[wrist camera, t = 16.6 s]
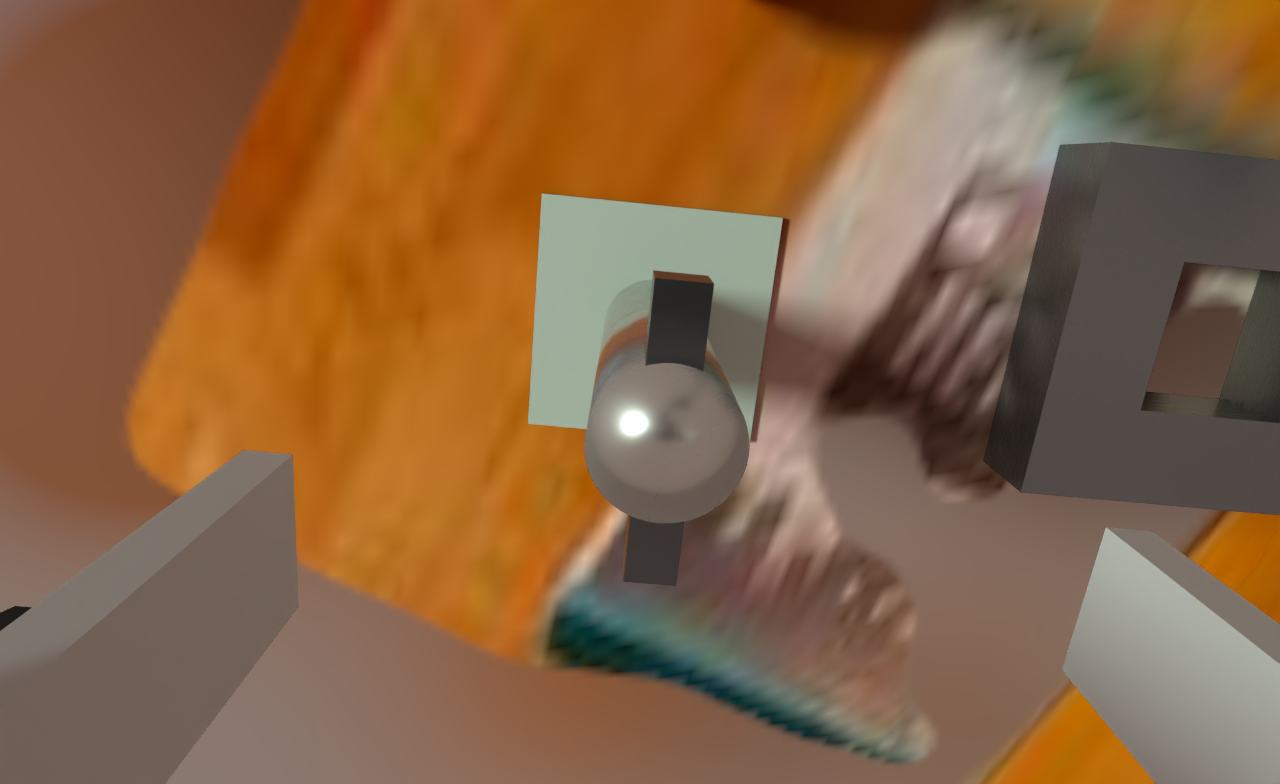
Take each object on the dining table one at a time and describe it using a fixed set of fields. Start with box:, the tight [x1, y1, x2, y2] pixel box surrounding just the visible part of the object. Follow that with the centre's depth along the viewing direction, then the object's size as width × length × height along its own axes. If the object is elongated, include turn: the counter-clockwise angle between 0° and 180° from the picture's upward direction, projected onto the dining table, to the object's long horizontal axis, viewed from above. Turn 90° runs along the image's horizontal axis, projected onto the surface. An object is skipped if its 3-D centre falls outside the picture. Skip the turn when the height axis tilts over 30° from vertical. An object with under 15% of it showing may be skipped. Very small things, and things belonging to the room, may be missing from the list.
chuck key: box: [585, 270, 750, 586], centre depth 26 cm, size 4×8×15 cm, turn 174°
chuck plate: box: [984, 142, 1280, 515], centre depth 32 cm, size 14×14×4 cm
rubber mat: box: [528, 193, 783, 444], centre depth 33 cm, size 10×10×1 cm
